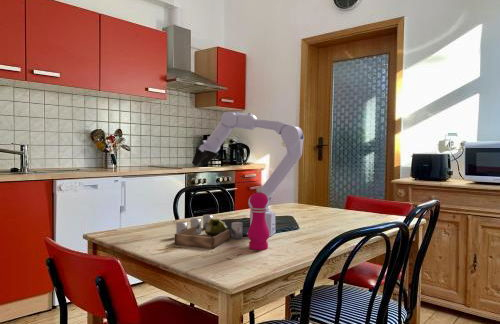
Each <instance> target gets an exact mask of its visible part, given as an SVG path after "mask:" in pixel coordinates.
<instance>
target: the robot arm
mask: <svg viewBox="0 0 500 324" xmlns="http://www.w3.org/2000/svg"><path fill="white" fill-rule="evenodd" d="M220 119H221V120H220V121H219V123H218V124H217V125H216V127H215V128H214V130H213V131H212V132H211V134H210V135H209V137H208V138H207V139H205V140H202V142H203V144H201V145H196V147H195V152H194V157H193V158H192V162H191V164H192V165H193V166H195V167H197V166H198V165H199V164H200V163H201V164H202V165H204V166H205V165H208V164H209V162H210V161H212V160H213V159H214V158H217V157H218V156H219V155H220V153H218V152H219V151H220V150H221V146H222V145H223V144H224V142H225V141H226V139H227V138H228V136H229V135H230V133H231V132H232V131H233V130H234V128H238V129H243V130H250V131H253V130H254V129H256V128H259V129H266V130H273V131H275V132H276V133H277V135H280V137H281V139H282V141H283V142H284V144H285V147H286V154H285V156H284V157H283V158H282V160H281V161H280V162H279V164H278V165H277V167H275V169H274V170H273V172H272V173H271V175H270V176H269V177H268V179H267V180H266V181H265V182H264V184H263V185H262V186H261V187H260V188H261V190H262V191H261V193H264V194H265V195H266V196H267V198H268V203H267V205H266V206H265V207H266V212H265V221H266V224H267V227H268V229H269V238H270V237H271V236H273V235H274V234H275V233H277V232H276V212H275V211H270V204H271V202H272V198H273V196H274V194H275V192H276V190H277V189H278V188H279V187H280V185H281V184H282V183H283V181H284V180H285V179H286V177H287V176H288V175H289V173H290V172H291V170H293V168H294V167H295V165H296V164H297V163H298V162H299V161H300V159H301V157H302V156H303V149H304V141H305V136H304V132H303V130H302V129H301V127H300V126H297V125H292V124H290V123H287V122H286V123H285V122H283V121H279V120H278V121H277V120H268V119H259V118H257V116H256V115H254V114H253V113H252V112H247V113H241V112H240V111H236V112H232V111H225V112H223V114H222V115H221V118H220ZM247 203H248V204H247V205H248V207H249V211H250V213H249V216H250V217H249V218H250V220H249V221H250V222H249V223H250V224H249V226H250V225H251V223H252V218H253V212H252V211H251V210H252V209H251V207H252V205H251V204H250V197H249V198H248V202H247ZM246 235H248V232H246Z"/></svg>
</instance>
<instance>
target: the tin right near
mask: <svg viewBox="0 0 500 324" xmlns="http://www.w3.org/2000/svg"><path fill="white" fill-rule="evenodd" d="M194 226H196V234H198V235H202V218H200V217H194V218H193V217H192V218H190V228H191V227H194Z"/></svg>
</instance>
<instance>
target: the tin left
mask: <svg viewBox="0 0 500 324" xmlns="http://www.w3.org/2000/svg"><path fill="white" fill-rule="evenodd" d="M243 225H244V224H243V222H241V221H234V222H231V239H232V240H242V239H243V232H244V231H243V229H244V228H243Z"/></svg>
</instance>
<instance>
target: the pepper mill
mask: <svg viewBox="0 0 500 324" xmlns="http://www.w3.org/2000/svg"><path fill="white" fill-rule="evenodd" d="M255 191H256V192H254V193H252V194H251V196H250V197H249V198H250V204H251V205H252V207H251V208H250V209H252V210H250V211H252V212H253V218H252V223H251V225H250V224H249V228H248V230H247V233H248V234H247V238H248V239H249V240H250V241H249V242H248V248H249V249H250V250H253V251H254V250H255V251H262V250H267V249H268V248H269V242H268V241H267V240H268V239H269V238H270V237H269V229H268V227H267V224H266V221H265V212H266V207H265V206H266V205H267V203H268V198H267V196H266V195H265V194H264V193H261V191H262V190H261V187H257V188H256V190H255Z"/></svg>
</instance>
